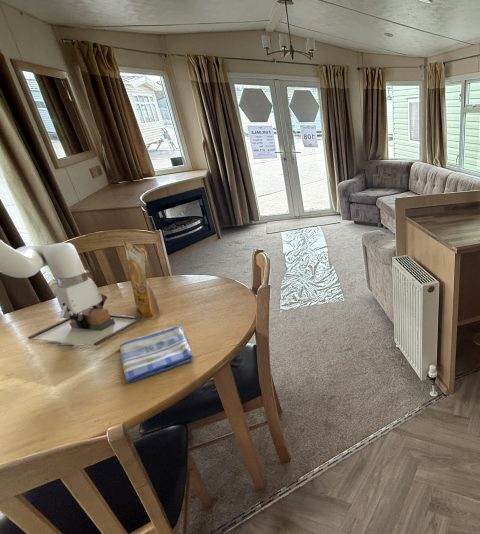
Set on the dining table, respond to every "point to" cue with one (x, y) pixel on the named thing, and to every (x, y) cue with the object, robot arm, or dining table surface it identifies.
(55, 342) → the stroke
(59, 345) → the stroke
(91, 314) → the eraser
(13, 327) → the dining table surface
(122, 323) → the memo board
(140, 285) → the pancake mix bag
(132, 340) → the dish towel
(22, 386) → the dining table surface
